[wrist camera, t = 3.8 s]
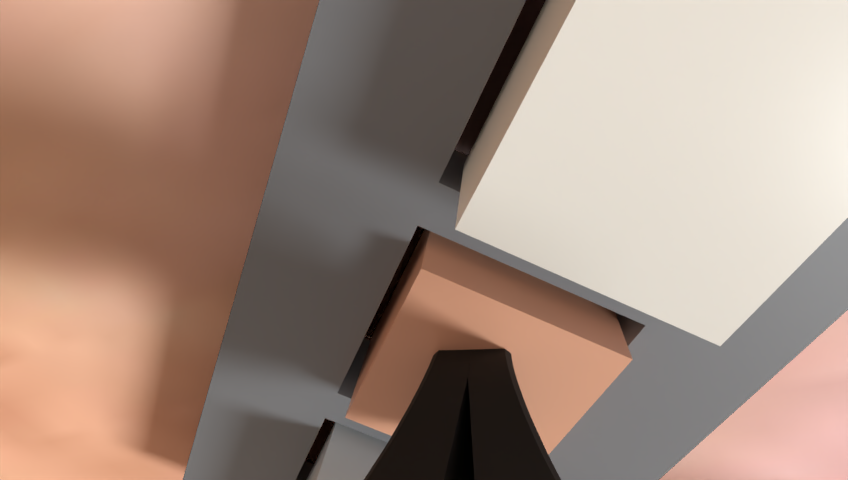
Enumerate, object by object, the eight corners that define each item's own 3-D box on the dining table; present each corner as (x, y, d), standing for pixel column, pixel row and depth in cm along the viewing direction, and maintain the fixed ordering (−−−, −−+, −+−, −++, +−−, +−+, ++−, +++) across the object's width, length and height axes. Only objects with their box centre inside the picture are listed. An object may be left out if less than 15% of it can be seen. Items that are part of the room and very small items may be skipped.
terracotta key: (603, 280, 11) (632, 359, 9) (515, 397, 13) (520, 486, 10) (435, 206, 10) (420, 268, 8) (370, 338, 12) (345, 417, 10)
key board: (1074, -49, 7) (1254, -56, 6) (481, 571, 17) (480, 640, 15) (475, -392, 6) (469, -528, 5) (203, 468, 16) (168, 528, 14)
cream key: (838, 38, 7) (996, 67, 5) (663, 255, 9) (720, 346, 7) (591, -91, 7) (641, -124, 4) (463, 164, 9) (454, 229, 6)
